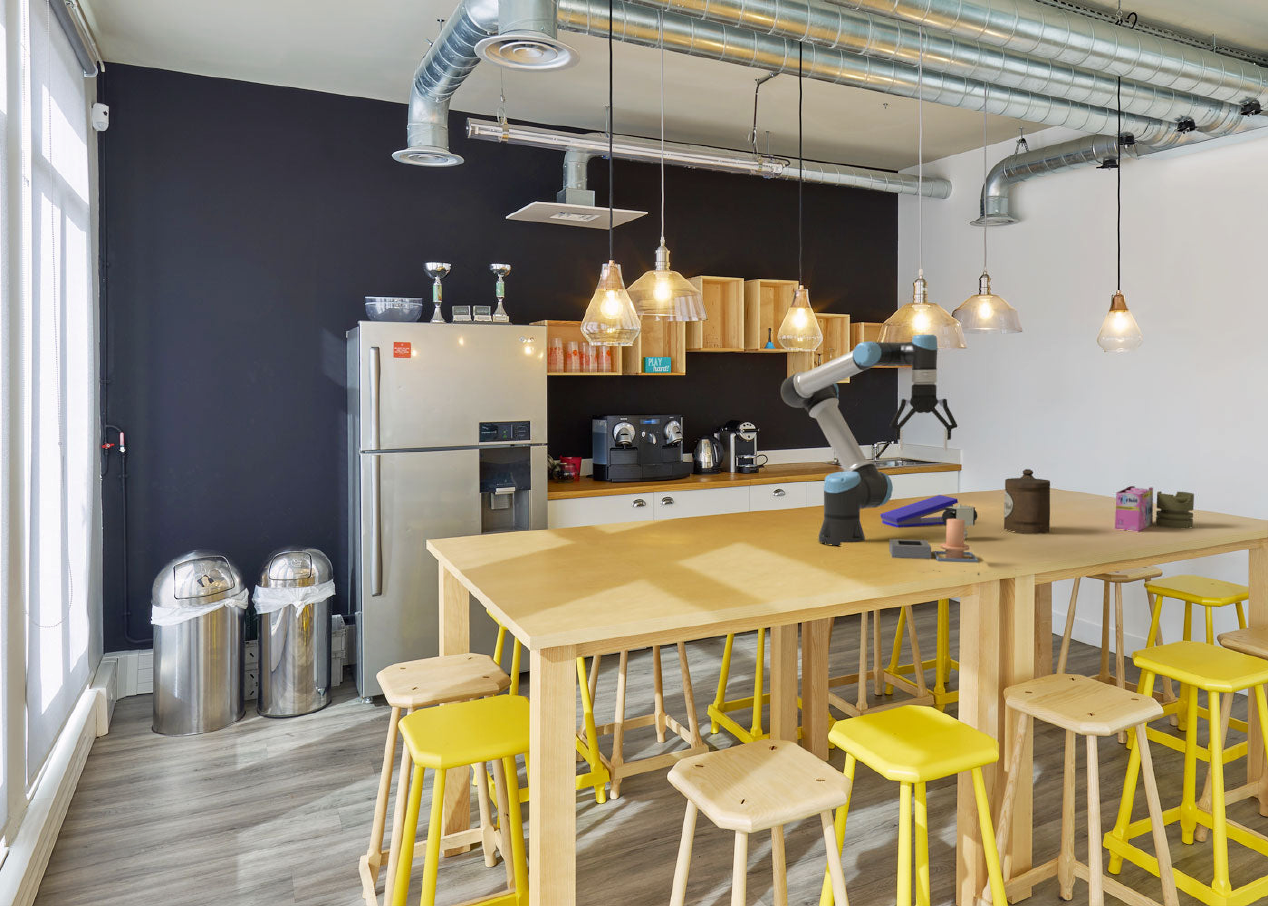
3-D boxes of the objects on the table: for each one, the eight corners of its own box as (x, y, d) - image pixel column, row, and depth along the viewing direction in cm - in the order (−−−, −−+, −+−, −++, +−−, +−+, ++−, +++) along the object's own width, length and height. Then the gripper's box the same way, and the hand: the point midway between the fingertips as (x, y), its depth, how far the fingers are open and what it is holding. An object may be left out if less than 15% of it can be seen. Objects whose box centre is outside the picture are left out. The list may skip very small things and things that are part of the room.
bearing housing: (892, 562, 252) (892, 545, 251) (889, 555, 262) (889, 539, 262) (930, 563, 249) (931, 547, 249) (926, 556, 260) (926, 540, 260)
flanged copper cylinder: (941, 562, 247) (943, 522, 246) (938, 556, 255) (939, 517, 254) (970, 563, 245) (972, 523, 244) (966, 557, 253) (968, 518, 252)
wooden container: (1008, 525, 312) (1010, 466, 310) (1052, 529, 303) (1054, 468, 301) (999, 531, 300) (1001, 470, 298) (1045, 535, 291) (1047, 472, 289)
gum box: (1129, 521, 319) (1130, 485, 318) (1153, 523, 313) (1155, 487, 312) (1114, 530, 301) (1115, 492, 300) (1139, 532, 296) (1141, 494, 295)
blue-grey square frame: (937, 566, 246) (937, 558, 246) (932, 558, 257) (932, 550, 257) (977, 567, 244) (977, 559, 244) (971, 559, 254) (971, 552, 254)
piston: (1200, 495, 300) (1166, 495, 302) (1198, 528, 301) (1164, 528, 303) (1184, 491, 311) (1151, 491, 313) (1182, 523, 312) (1150, 523, 314)
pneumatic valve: (977, 538, 288) (978, 503, 287) (951, 541, 283) (951, 506, 282) (965, 535, 293) (965, 501, 292) (939, 538, 288) (939, 504, 287)
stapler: (961, 524, 318) (961, 498, 317) (897, 528, 310) (897, 502, 309) (941, 519, 329) (941, 494, 328) (879, 523, 321) (879, 498, 320)
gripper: (884, 384, 268) (883, 450, 270) (967, 383, 262) (966, 451, 264) (882, 384, 275) (881, 448, 277) (963, 383, 270) (962, 449, 271)
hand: (923, 450), depth 271 cm, fingers open, 13 cm apart
